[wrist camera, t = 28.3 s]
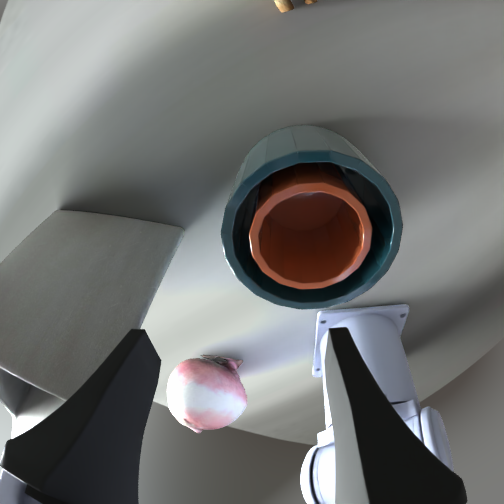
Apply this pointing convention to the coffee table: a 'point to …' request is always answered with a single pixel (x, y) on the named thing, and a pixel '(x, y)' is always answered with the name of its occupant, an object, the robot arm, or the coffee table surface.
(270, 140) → the base cup
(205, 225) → the coffee table surface
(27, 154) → the coffee table surface
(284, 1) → the figurine
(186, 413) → the onion
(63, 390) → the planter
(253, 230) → the cup
